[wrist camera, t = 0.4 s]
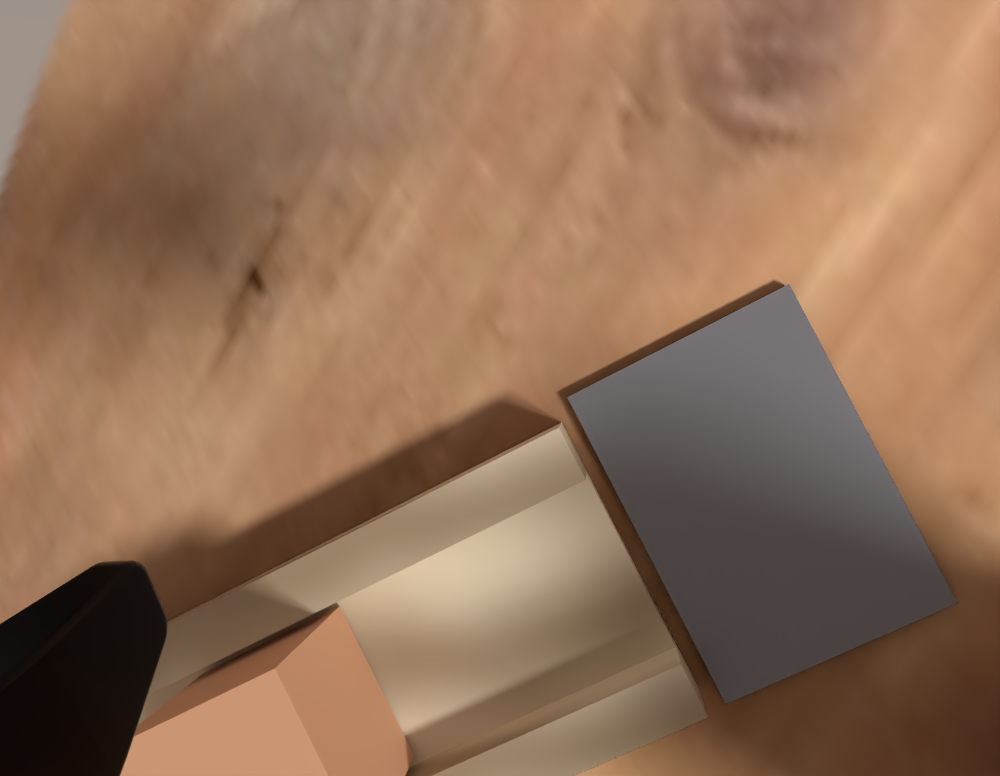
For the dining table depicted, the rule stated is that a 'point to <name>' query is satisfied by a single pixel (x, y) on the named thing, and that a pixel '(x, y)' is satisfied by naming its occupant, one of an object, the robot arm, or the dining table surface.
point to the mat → (760, 497)
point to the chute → (477, 621)
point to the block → (278, 714)
